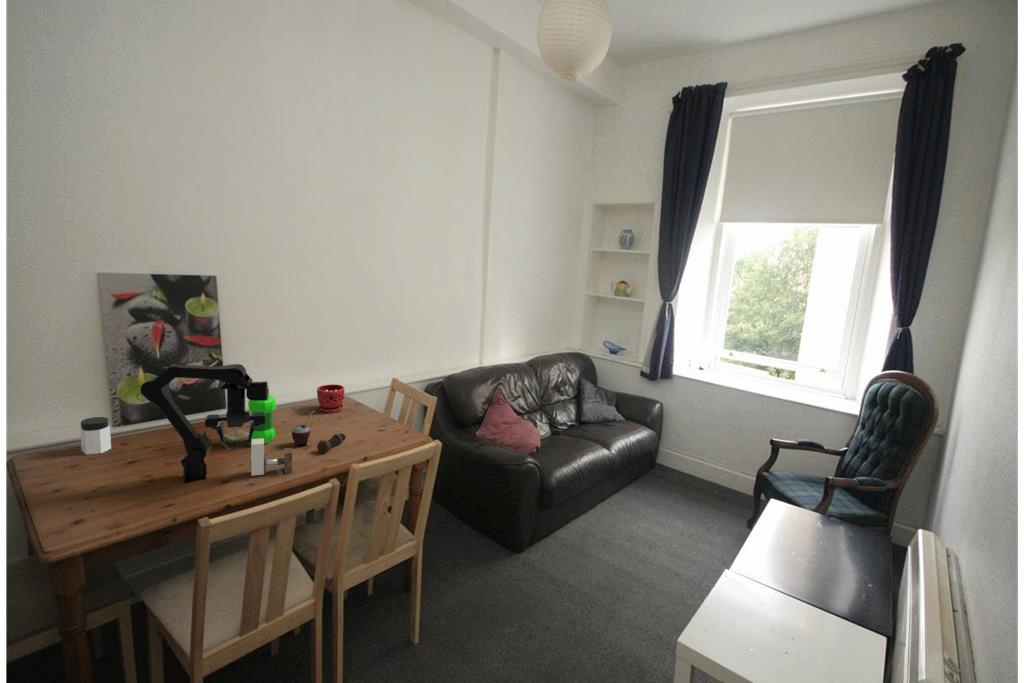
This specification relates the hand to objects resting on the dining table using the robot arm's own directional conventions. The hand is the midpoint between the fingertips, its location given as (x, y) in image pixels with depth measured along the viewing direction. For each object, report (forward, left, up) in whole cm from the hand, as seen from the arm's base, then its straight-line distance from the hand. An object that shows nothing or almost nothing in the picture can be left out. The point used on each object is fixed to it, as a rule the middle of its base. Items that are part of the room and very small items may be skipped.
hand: (236, 441), depth 183 cm
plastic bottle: (+15, +27, -13) cm, 34 cm away
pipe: (+10, -3, -10) cm, 15 cm away
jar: (-39, +46, -13) cm, 62 cm away
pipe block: (+15, -4, -13) cm, 20 cm away
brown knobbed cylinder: (+39, +9, -13) cm, 42 cm away
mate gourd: (+28, +17, -13) cm, 36 cm away
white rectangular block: (+7, -2, -13) cm, 15 cm away
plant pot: (+54, +54, -13) cm, 78 cm away
